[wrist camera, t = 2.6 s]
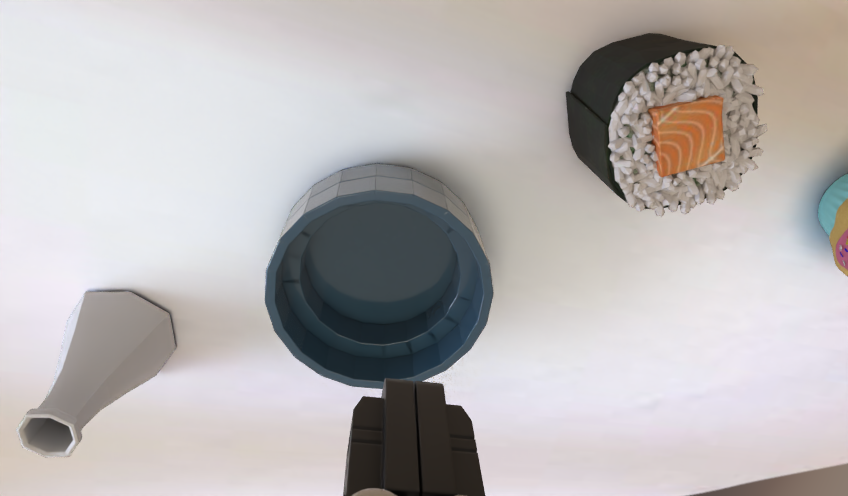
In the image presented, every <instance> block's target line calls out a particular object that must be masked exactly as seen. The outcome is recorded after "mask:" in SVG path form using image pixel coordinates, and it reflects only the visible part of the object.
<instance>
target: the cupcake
mask: <svg viewBox="0 0 848 496" xmlns="http://www.w3.org/2000/svg"><path fill="white" fill-rule="evenodd" d="M818 218H819V222H820V224H821V226H822V228H823V229H824V230H825V231H826V233H827V234H828V236H829V238H830V243H831V246H832V250H833V256H834V260H835V264H836V266H837V267H838V268H839V270H841V271H842V272H843V273H844V274H845V275H847V276H848V174H846V175H844V176H842V177H840V178H839V179H838V180H836V181H835V182H834V183H833V184H832V185H831V186H830V187H829V188H828V189H827V191H826V192H825V193H824V195H823V197H822V199H821V201H820V204H819V208H818Z"/></svg>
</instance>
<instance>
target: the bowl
mask: <svg viewBox="0 0 848 496" xmlns="http://www.w3.org/2000/svg"><path fill="white" fill-rule="evenodd" d="M492 298H493V285H492V278H491V270H490V263H489V260H488V257H487V255H486V252H485V249H484V246H483V243H482V240H481V237H480V235H479V232H478V229H477V227H476V225H475V223H474V221H473V219H472V217H471V215H470V214H469V212H468V210H467V208H466V206H465V204H464V203H463V202H462V201H461V200H460V199H459V198H458V197H457V196H456V195H455V194H454V193H453V192H452V191H450V190H449V189H448V188H447V187H446V186H445V185H444V184H443V183H442V182H440V181H439V180H436V179H434V178H432V177H430V176H428V175H426V174H423V173H421V172H419V171H417V170H415V169H413V168H409V167H402V166H394V165H386V164H370V165H365V166H359V167H354V168H348V169H344V170H341V171H339V172H337V173H335V174H333V175H331V176H329V177H328V178H326V179H324V180H322V181H320V182H318V183H316V184H315V185H313V186H312V187H311V188H310V189H309V191H308V192H307V193H306V194H305V195H304V196H303V197H302V198H301V199H300V200H299V201H298V202H297V203H296V204H295V205H294V207H293V208H292V209H291V212H290V214H289V216H288V219H287V221H286V223H285V226H284V228H283V230H282V233H281V235H280V237H279V240H278V242H277V245H276V247H275V250H274V252H273V254H272V257H271V259H270V262H269V264H268V266H267V270H266V284H265V304H266V307H267V310H268V313H269V316H270V319H271V322H272V325H273V328H274V331H275V332H276V334H277V335H278V336H279V338H280V339H281V340H282V341H283V343H284V344H285V345H286V347H287V348H288V349H289V351H290V352H291V353H292V354H293V356H295V358H297V359H298V360H299V361H301V362H302V363H304V364H305V365H307V366H308V367H309V368H311V369H312V370H314V371H315V372H316V373H318V374H319V375H321V376H324V377H326V378H329V379H332V380H335V381H338V382H341V383H343V384H346V385H349V386H353V387H365V388H377V389H383V385H384V380H385V378H390V379H400V380H410V381H413V383H414V382H415V381H420V382H422V381H424V380H426V379H428V378H430V377H433V376H435V375H437V374H439V373H441V372H444V371H446V370H447V369H448V368H449V367H451V366H452V365H453V364H454V363H455V362H456V361H458V360H459V359H460V358H461V357H462V356H463V355H465V354H466V353H467V352H468V351H469V350H470V349H471V348H472V346H473V345H474V343H475V342H476V340H477V338H478V337H479V335H480V334H481V332H482V330H483V329H484V327H485V326H486V323H487V320H488V316H489V311H490V307H491V303H492Z"/></svg>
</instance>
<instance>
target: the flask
mask: <svg viewBox="0 0 848 496" xmlns="http://www.w3.org/2000/svg"><path fill="white" fill-rule="evenodd" d="M175 349H176V346H175V341H174V335H173V330H172V324H171V319H170V314H169V313H167V312H166V311H164V310H162V309H160V308H159V307H157V306H155V305H153V304H151V303H150V302H148V301H146V300H144V299H142V298H141V297H139V296H137V295H135V294H134V293H132V292H85V294H84V295H83V297H82V298H81V300H80V302H79V303H78V305H77V306H76V308H75V309H74V311H73V312H72V314H71V316H70V317H69V319H68V320H67V323H66V327H65V331H64V337H63V342H62V347H61V353H60V357H59V361H58V365H57V369H56V373H55V377H54V381H53V384H52V386H51V388H50V390H49V392H48V394H47V396H46V398H45V400H44V401H43V403H42V404H41V405H40V406H39V407H38V408H37V409H31V410H29V411H28V412H27V414H26V415H25V416H24V418H23V420H22V421H21V423H20V424H19V426H18V427H17V429H16V431H17V434H18V437H19V439H20V442H21V445H22V447H23V448H25V449H27V450H29V451H32V452H34V453H36V454H38V455H41V456H43V457H69V456H70V455H71V453H72V452H73V451H74V449H75V448H76V446H77V445H78V444H79V442H80V441H81V439H82V434H81V430H82V428H83V427H84V426H85V425H86V424H87V423H88V422H89V421H90V420H91V419H92V418H93V417H94V416H95V415H96V414H97V413H98V412H99V411H100V410H102V409H103V408H105V407H106V406H108V405H109V404H111V403H112V402H114V401H115V400H117V399H118V398H120V397H121V396H123V395H124V394H126V393H127V392H129V391H131V390H133V389H134V388H136V387H138V386H139V385H141V384H143V383H145V382H146V381H148V380H150V379H151V378H153V377H154V376H156V375H157V373H158V372H159V371H160V369H161V368H162V367H163V365H164V364H165V363H166V361H167V360H168V359H169V357H170V356H171V354H172V353H173V352H174V350H175Z"/></svg>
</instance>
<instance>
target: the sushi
mask: <svg viewBox="0 0 848 496" xmlns="http://www.w3.org/2000/svg"><path fill="white" fill-rule="evenodd" d="M757 70H758V68H757V67H756V66H754V65H753V64H746V63H745V62H744V61H743V60H742V59H741V58H740V57H739V56H738V55H737V54H736V53H735V52H734V50H733V47H732V46H726V48H725V45H718V46H713V45H707V44H701V43H696V42H690V41H685V40H681V39H677V38H674V37H670V36H666V35H663V34H650V33H648V34H644V35H641V36H637V37H633V38H629V39H625V40H621V41H617V42H613V43H611V44H609V45H607V46H605V47H603V48H601V49H599V50H597V51H594V52H593V53H592V54H591V55H590V57H589V58H588V59H587V60H586V61H585V62H584V63H583V64H582V65H581V66H580V68H579V70H578V72H577V74H576V76H575V79H574V81H573V85H572V90H571V93H570V92H566V98H567V110H568V122H569V134H570V138H571V142H572V146H573V148H574V150H575V152H576V154H577V156H578V158H579V159H580V160H582V161H583V162H584V163H585V164H586V165H587V166H588V167H589V168H590V169H591V170H592V171H593V172H594V173H595V174H596V175H597V176H598V177H599V178H600V179H601V180H602V181H603V182H604V183H605V184H606V185H607V186H608V187H609V188H610V189H611V190H612V191H613V192H615V193H616V194H617V195H618V196H619V197H620V198H622V199H623V200H624V201H625V202H627V203H628V205H629V207H635V208H636V210H638V211H642V210H644V209H653V210H655V212H656V215H657V216H661V217H662V216H663V214H664V213H665V211H664V208H666V207H668V208H669V210H670V211H671V212H674V211H677V208H678V205H681V206H680V210H681V213H684V214H686V213H689V211H690V208H694V207H695V206H696V204H697V203H698V204H701V203H703V202H704V199H705V198H706V200H707V203H710V204H714V202H715V201H716V198H718V199H722V200H723V198H724V195H725V193H724V190H726V189H727V188H728V189H730V190H731V191H735V190H737V189H739V187H738V184H740V183H741V182H742V179H741V175H742V174H745V173H746V172H747V170H748V168H749V169H751V170H755V169H757V168H758V166H757V165H756V163H755V162H754V161H753V160H751V159H752V157H754V156H761V155H762V153H763V150H762V149H760V148H755V147H756V144H757V143H758V139H757V137H758V136H760V135H762V134H763V133H765V132H766V131H767V124H764V125H759V126H758V123H759V121H760V119H759V118H758V116H757V106H758V97H757V96H760V95H763V94H764V89H763V88H762V87H759V86H756V85H755V81H754V76H753V74H754V73H755V72H756V71H757Z"/></svg>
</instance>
